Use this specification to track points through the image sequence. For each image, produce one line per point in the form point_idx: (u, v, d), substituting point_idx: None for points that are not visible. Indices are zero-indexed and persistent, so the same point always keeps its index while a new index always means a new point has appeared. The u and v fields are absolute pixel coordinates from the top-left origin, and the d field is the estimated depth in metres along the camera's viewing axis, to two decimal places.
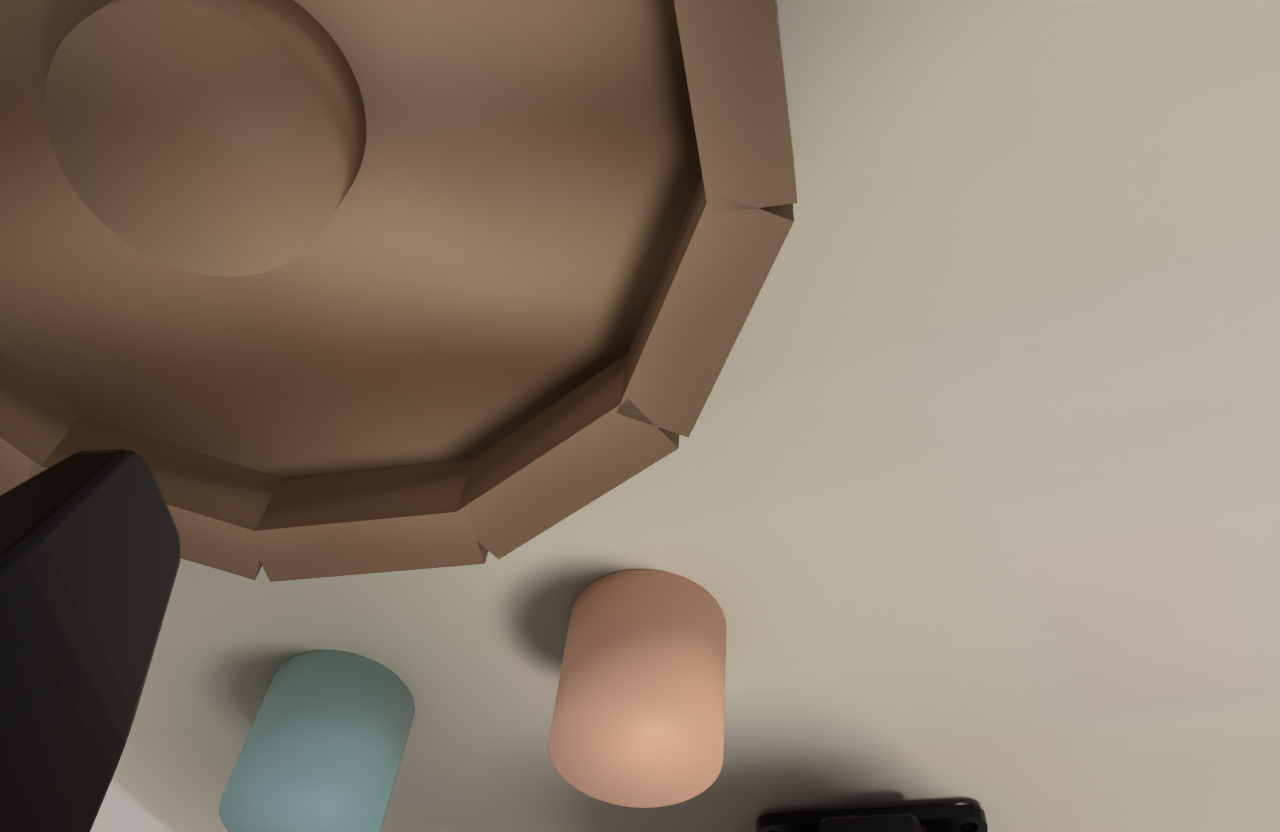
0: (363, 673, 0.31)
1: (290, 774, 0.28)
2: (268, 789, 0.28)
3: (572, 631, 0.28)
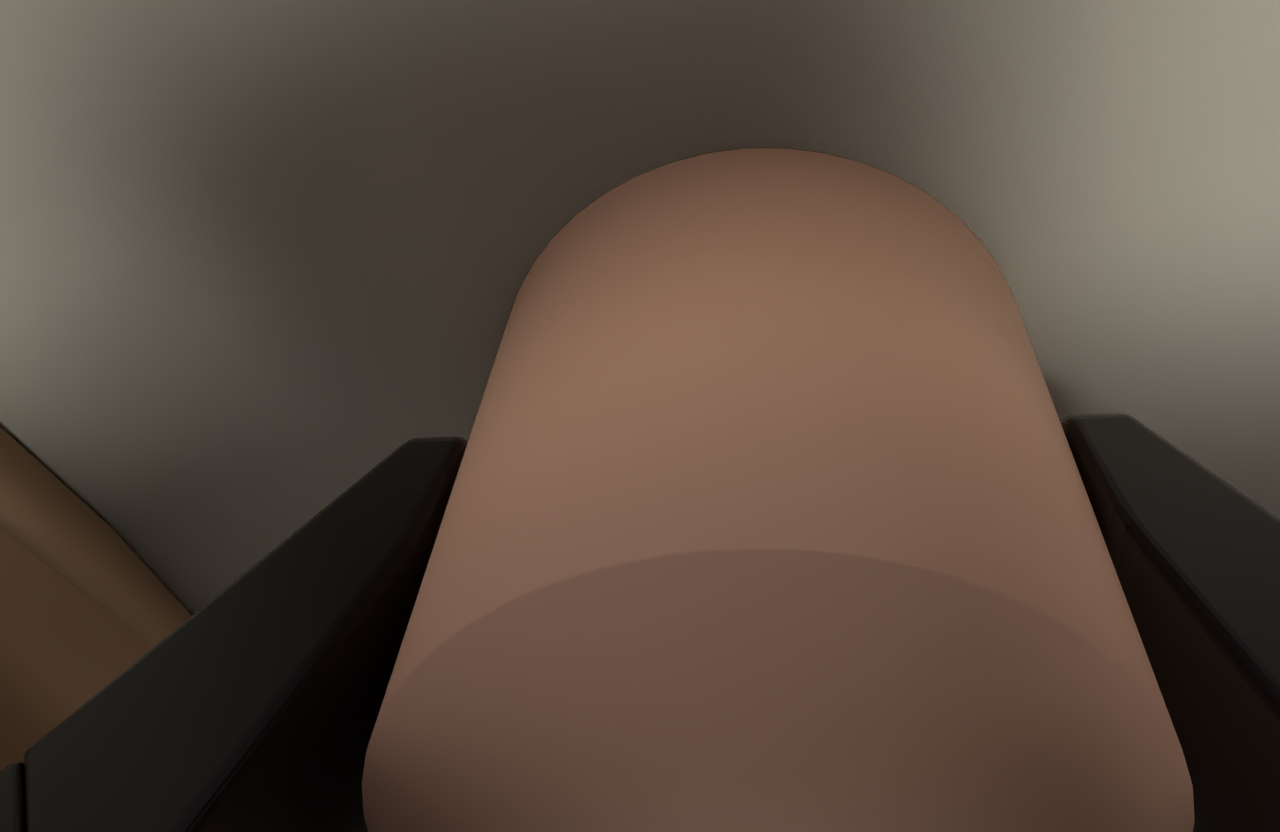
0: None
1: None
2: None
3: None
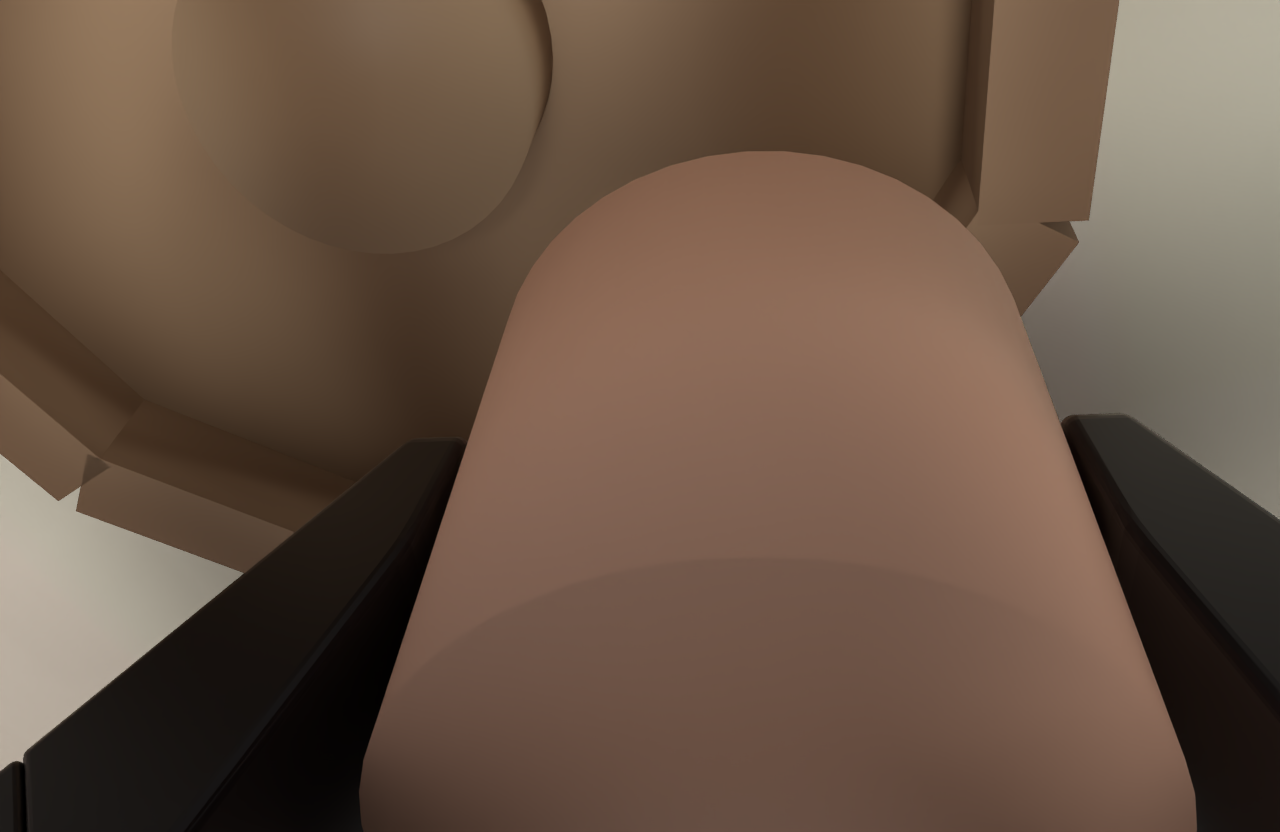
0: None
1: None
2: None
3: None
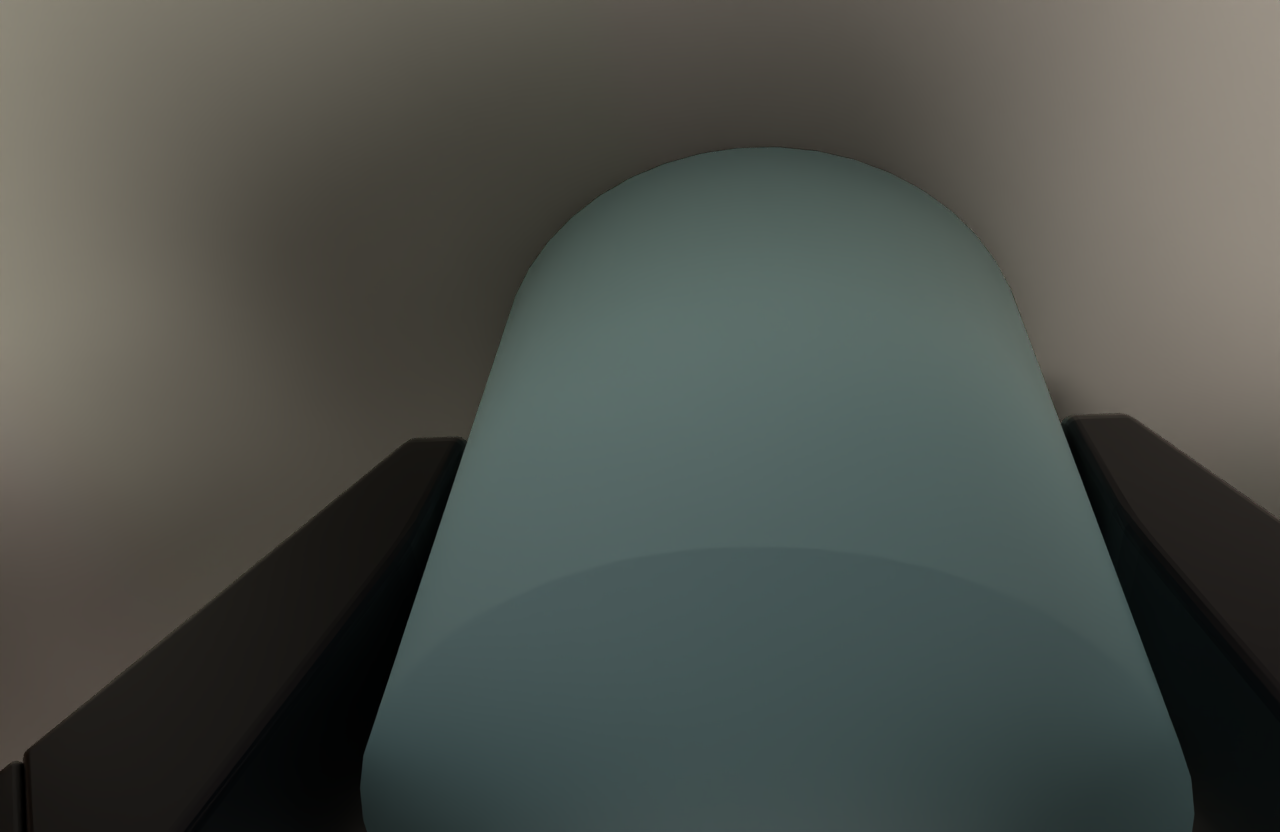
0: (506, 326, 0.08)
1: (364, 820, 0.06)
2: None
3: None
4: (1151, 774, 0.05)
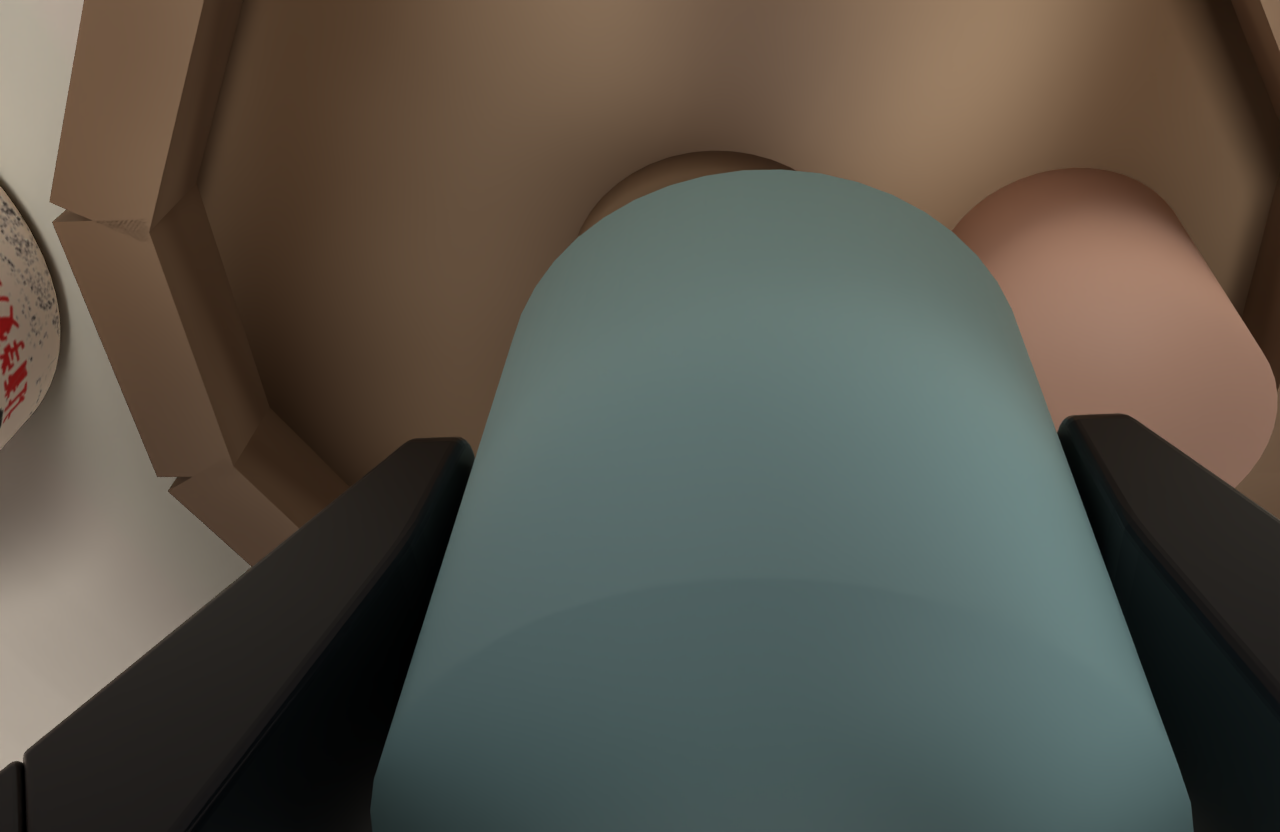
0: (513, 346, 0.08)
1: None
2: None
3: None
4: (1152, 798, 0.05)
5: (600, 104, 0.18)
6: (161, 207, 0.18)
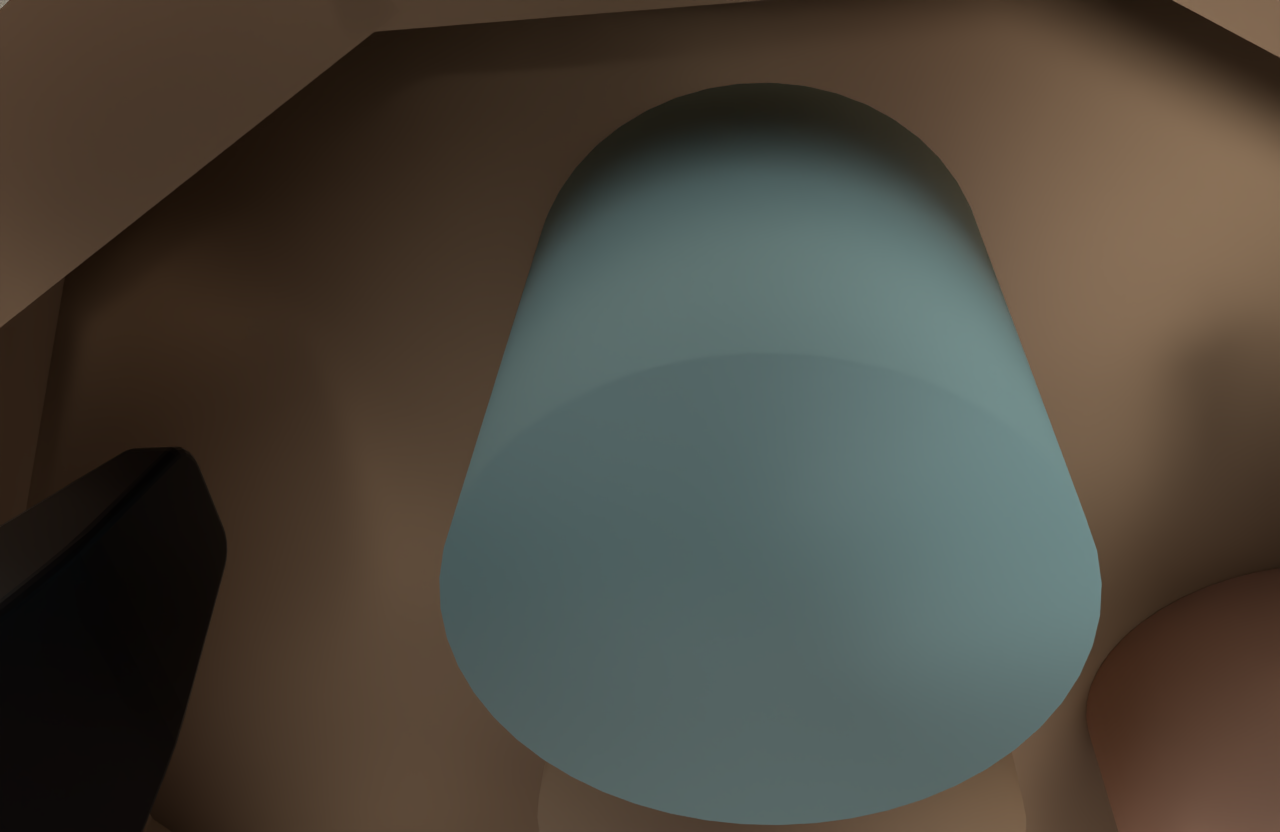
0: (541, 238, 0.10)
1: None
2: (552, 682, 0.08)
3: None
4: (1066, 548, 0.07)
5: None
6: None
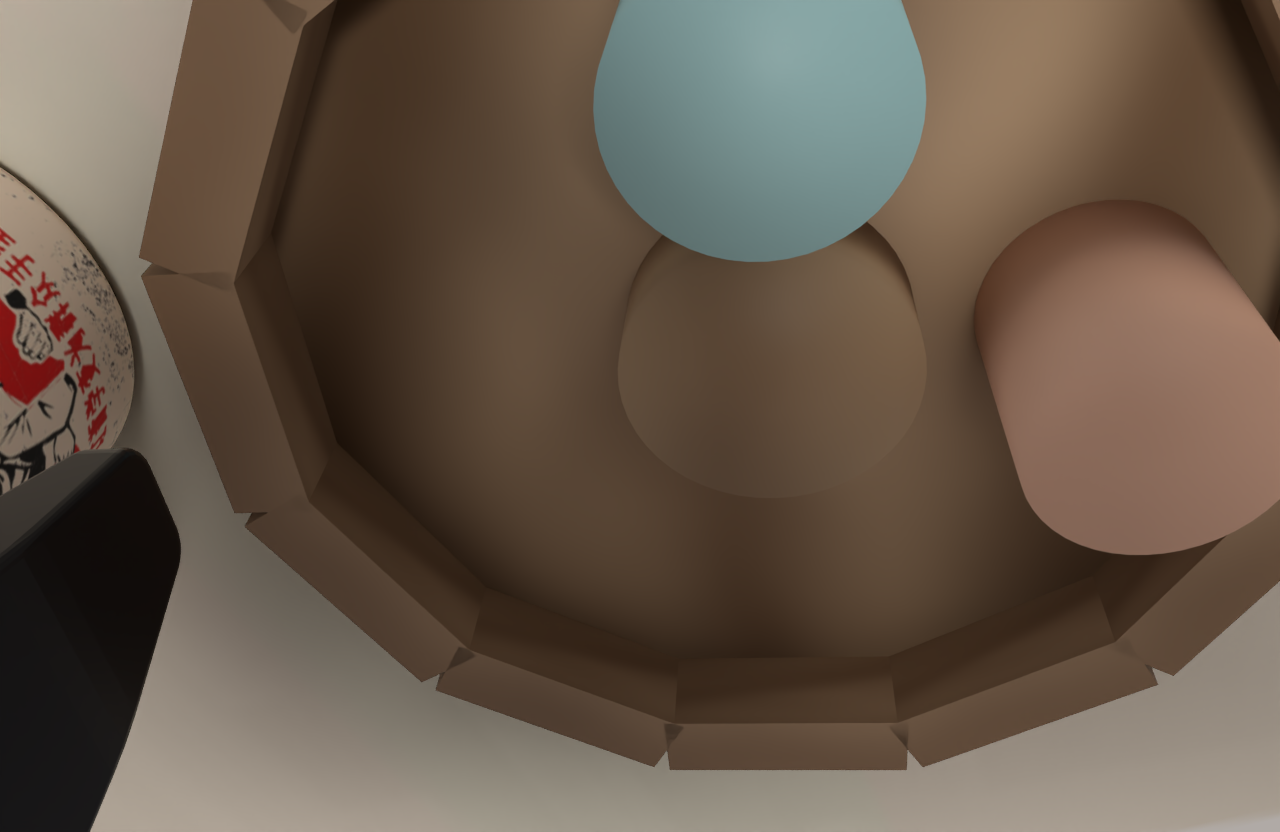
0: None
1: (593, 111, 0.14)
2: (648, 159, 0.14)
3: None
4: (905, 56, 0.13)
5: None
6: (244, 259, 0.19)
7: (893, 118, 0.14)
